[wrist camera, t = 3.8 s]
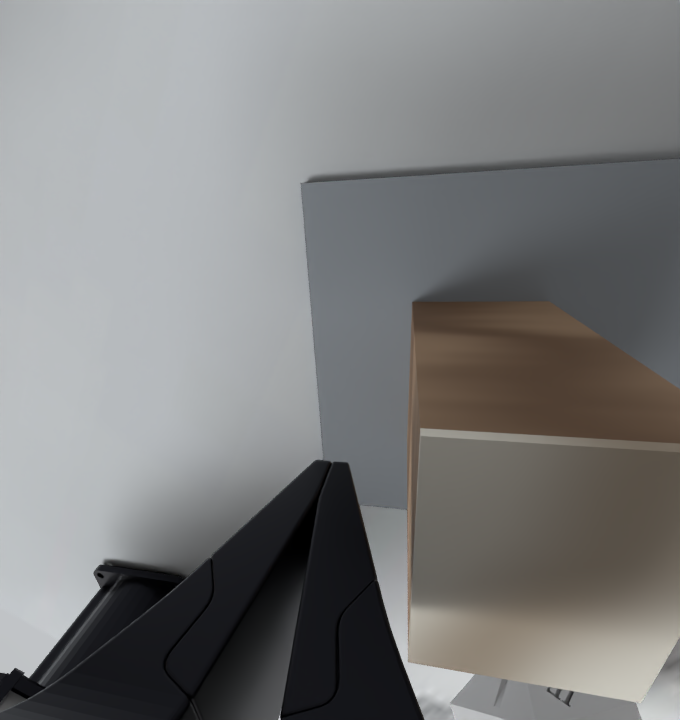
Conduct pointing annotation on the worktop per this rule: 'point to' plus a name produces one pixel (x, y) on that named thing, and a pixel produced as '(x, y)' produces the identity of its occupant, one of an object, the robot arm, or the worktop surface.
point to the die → (534, 703)
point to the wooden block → (539, 501)
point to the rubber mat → (477, 280)
